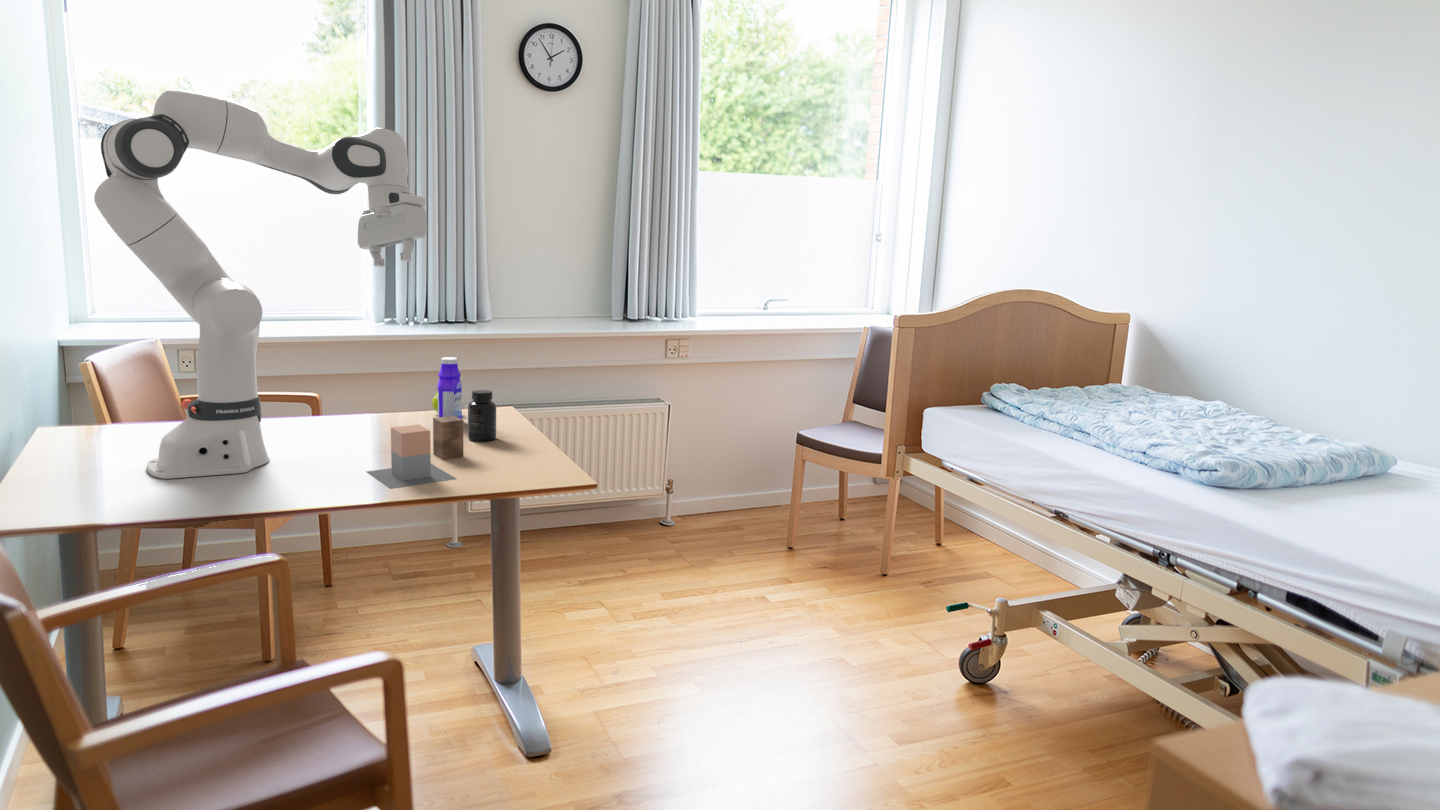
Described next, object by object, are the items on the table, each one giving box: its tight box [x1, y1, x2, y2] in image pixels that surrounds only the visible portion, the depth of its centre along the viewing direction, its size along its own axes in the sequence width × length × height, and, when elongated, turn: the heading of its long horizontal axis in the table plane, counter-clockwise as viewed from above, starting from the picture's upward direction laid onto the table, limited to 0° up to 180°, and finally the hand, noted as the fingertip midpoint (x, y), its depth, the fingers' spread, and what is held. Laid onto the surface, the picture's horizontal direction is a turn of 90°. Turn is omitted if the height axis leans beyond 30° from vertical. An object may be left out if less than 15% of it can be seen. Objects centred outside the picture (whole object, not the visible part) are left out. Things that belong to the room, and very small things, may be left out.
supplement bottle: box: [467, 389, 497, 443], centre depth 225 cm, size 7×7×12 cm
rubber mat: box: [366, 463, 457, 490], centre depth 192 cm, size 14×14×1 cm
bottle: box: [437, 356, 463, 420], centre depth 239 cm, size 7×6×17 cm
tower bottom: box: [390, 450, 432, 481], centre depth 192 cm, size 6×6×5 cm
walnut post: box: [432, 416, 464, 460], centre depth 208 cm, size 5×5×9 cm
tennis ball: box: [432, 392, 438, 414], centre depth 250 cm, size 7×7×7 cm
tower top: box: [390, 424, 431, 457], centre depth 191 cm, size 6×6×5 cm
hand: (392, 263), depth 206 cm, fingers open, 8 cm apart
